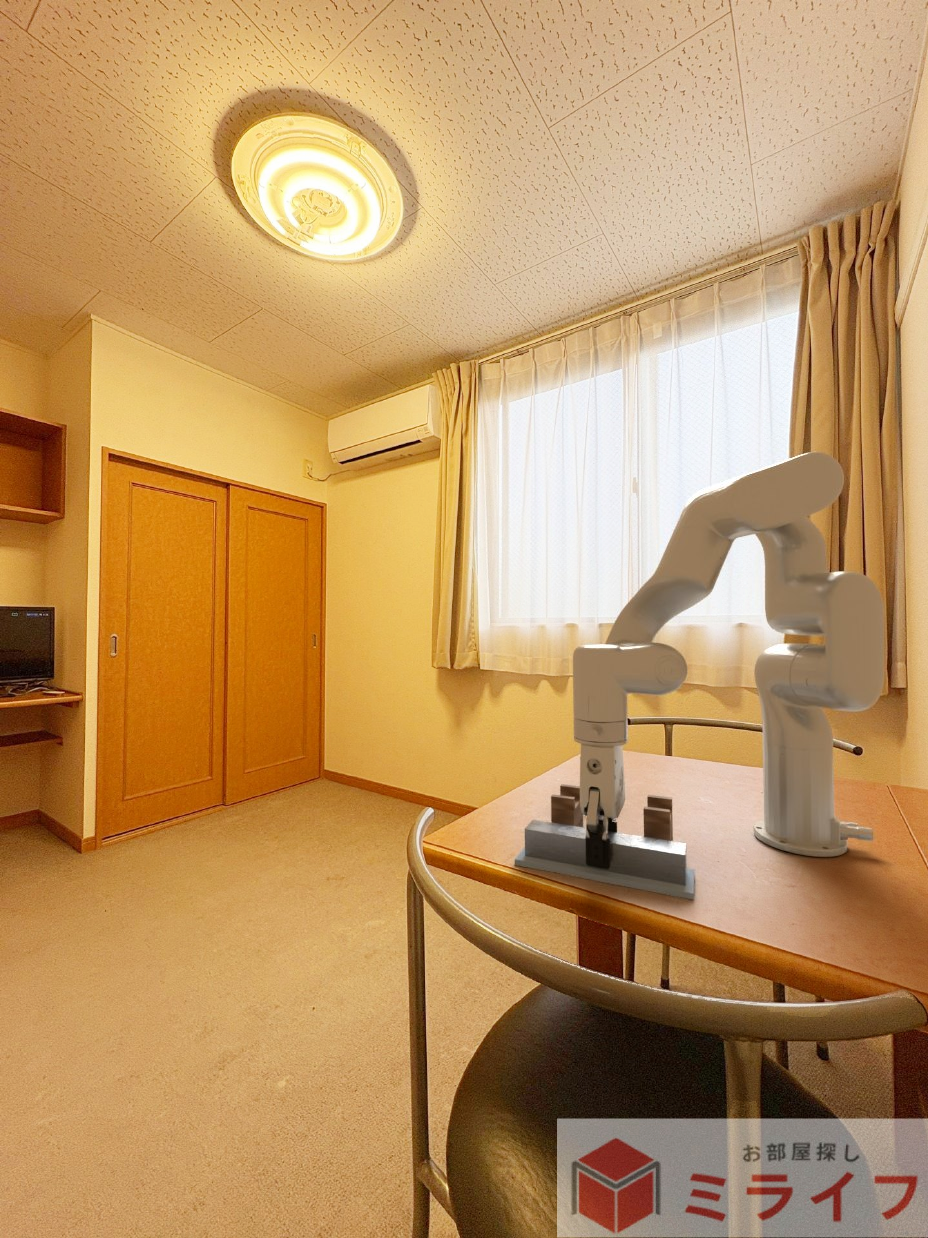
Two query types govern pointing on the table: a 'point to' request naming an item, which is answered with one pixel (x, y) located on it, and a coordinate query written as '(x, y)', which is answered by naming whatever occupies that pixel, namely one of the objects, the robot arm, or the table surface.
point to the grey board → (611, 876)
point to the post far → (567, 806)
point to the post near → (658, 818)
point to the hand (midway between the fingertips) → (602, 855)
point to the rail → (625, 851)
